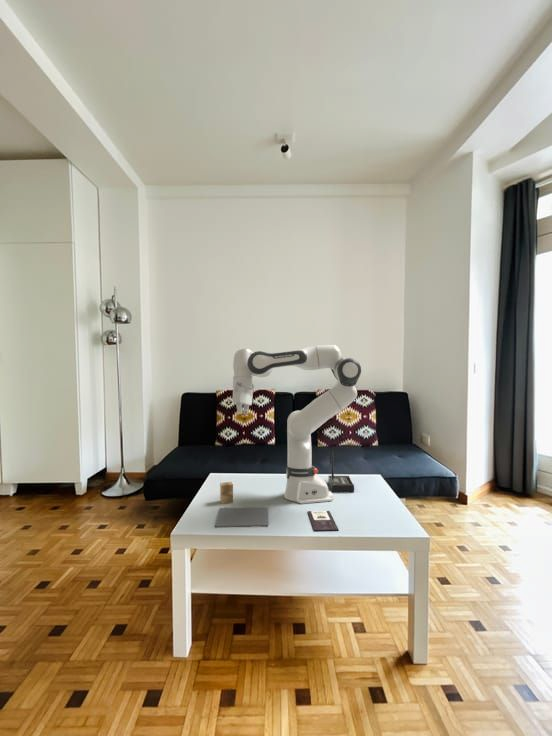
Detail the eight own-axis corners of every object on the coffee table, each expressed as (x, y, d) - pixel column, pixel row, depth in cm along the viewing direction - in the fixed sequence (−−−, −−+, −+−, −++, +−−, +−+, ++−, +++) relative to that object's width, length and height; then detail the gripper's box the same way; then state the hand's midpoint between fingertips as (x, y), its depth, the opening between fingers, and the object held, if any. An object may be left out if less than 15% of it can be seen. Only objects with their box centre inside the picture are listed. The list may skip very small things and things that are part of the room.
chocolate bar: (314, 530, 140) (307, 511, 158) (314, 532, 140) (307, 513, 158) (338, 529, 141) (329, 510, 159) (338, 532, 141) (329, 513, 159)
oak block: (231, 499, 174) (231, 481, 173) (233, 502, 170) (233, 484, 170) (220, 500, 172) (220, 482, 172) (221, 503, 168) (221, 485, 168)
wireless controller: (357, 493, 183) (357, 457, 183) (328, 493, 183) (328, 457, 183) (350, 480, 203) (350, 448, 203) (324, 480, 203) (324, 448, 203)
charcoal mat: (267, 508, 163) (267, 507, 163) (268, 526, 145) (268, 525, 145) (220, 509, 162) (219, 508, 162) (214, 527, 144) (214, 525, 144)
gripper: (243, 381, 167) (243, 413, 165) (254, 386, 187) (254, 415, 185) (229, 381, 168) (228, 413, 166) (242, 386, 188) (242, 415, 186)
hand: (242, 414), depth 175 cm, fingers open, 8 cm apart
